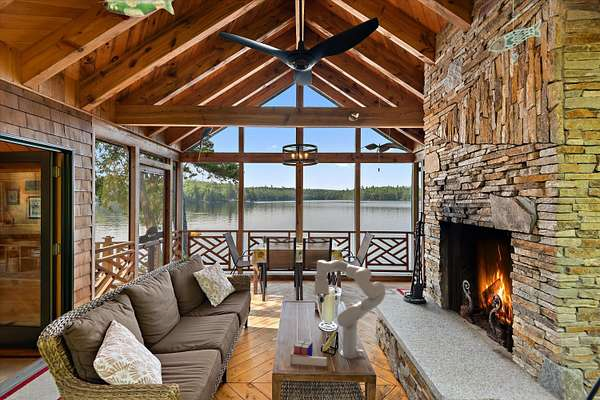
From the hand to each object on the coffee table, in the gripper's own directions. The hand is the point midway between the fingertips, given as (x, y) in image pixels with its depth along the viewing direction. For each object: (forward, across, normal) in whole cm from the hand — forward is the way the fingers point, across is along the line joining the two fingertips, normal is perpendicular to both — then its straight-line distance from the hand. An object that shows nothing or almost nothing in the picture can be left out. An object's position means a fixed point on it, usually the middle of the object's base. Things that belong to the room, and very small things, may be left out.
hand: (321, 302), depth 247 cm
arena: (+32, -7, -21) cm, 39 cm away
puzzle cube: (+32, -11, -20) cm, 40 cm away
